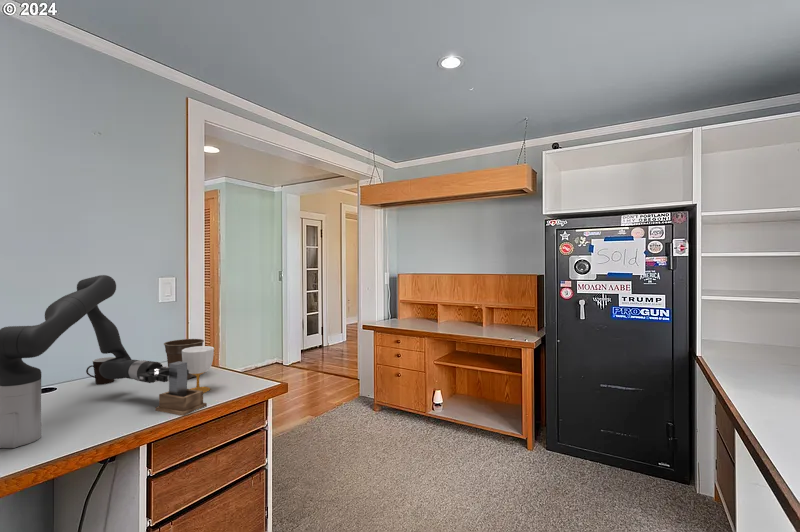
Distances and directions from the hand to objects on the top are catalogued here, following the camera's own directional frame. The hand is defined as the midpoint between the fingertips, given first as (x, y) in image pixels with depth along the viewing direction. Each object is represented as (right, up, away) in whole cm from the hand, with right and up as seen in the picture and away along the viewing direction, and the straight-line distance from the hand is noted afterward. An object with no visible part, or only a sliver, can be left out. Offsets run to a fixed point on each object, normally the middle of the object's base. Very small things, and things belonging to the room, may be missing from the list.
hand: (177, 375), depth 141 cm
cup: (-2, -12, +19) cm, 22 cm away
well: (+2, -11, -1) cm, 12 cm away
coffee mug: (-49, -11, +29) cm, 58 cm away
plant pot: (-19, -12, +39) cm, 45 cm away
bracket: (+2, -10, -1) cm, 11 cm away
